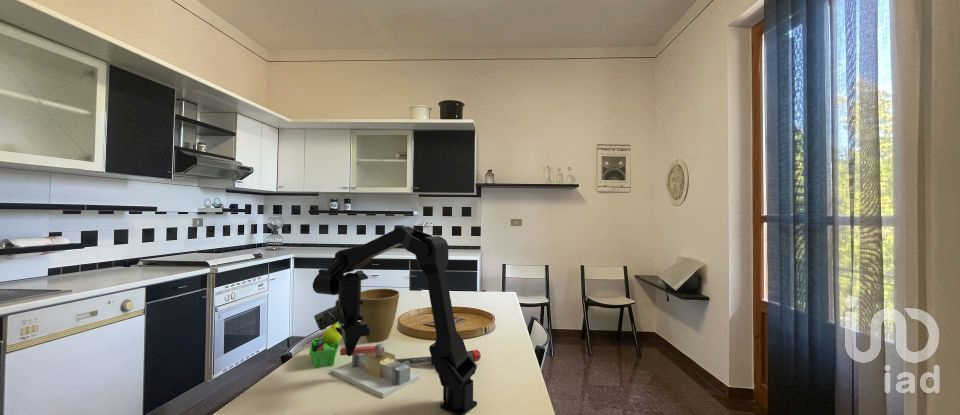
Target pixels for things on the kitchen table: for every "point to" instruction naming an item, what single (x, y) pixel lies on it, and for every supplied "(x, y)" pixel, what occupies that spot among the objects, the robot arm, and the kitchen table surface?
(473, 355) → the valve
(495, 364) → the kitchen table surface
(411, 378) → the mounting board
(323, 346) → the fruit basket
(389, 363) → the pipe valve
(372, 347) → the lever
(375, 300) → the plant pot
